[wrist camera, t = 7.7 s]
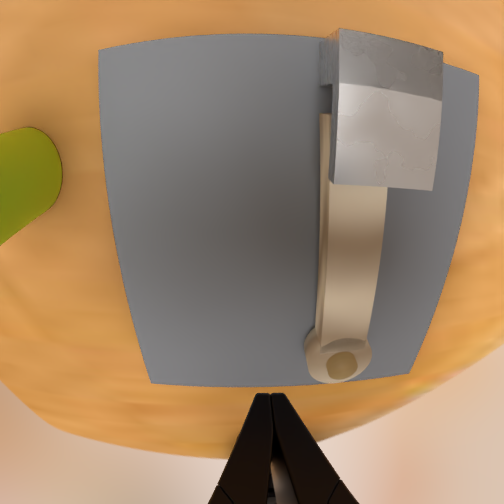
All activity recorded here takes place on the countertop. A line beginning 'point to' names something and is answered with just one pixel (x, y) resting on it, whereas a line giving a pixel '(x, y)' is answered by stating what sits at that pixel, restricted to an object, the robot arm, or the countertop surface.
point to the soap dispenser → (26, 178)
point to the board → (256, 208)
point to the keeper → (382, 109)
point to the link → (344, 272)
